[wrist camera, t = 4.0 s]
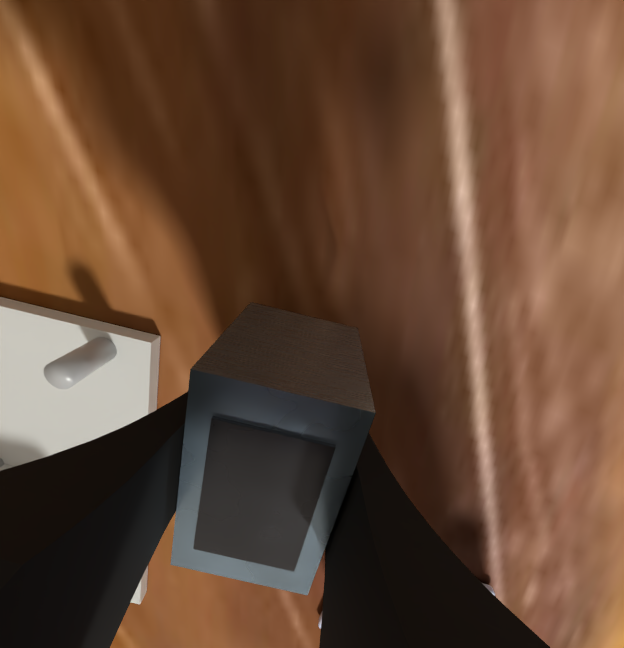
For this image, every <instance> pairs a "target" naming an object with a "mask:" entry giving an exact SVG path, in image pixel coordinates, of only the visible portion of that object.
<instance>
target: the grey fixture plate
mask: <svg viewBox="0 0 624 648" xmlns="http://www.w3.org/2000/svg"><path fill="white" fill-rule="evenodd" d="M160 337H161V336H159V335H154V334H150V333H146V332H142V331H138V330H134V329H130V328H126V327H122V326H118V325H114V324H109V323H105V322H101V321H97V320H93V319H89V318H85V317H81V316H77V315H73V314H69V313H64V312H60V311H56V310H52V309H48V308H44V307H40V306H36V305H32V304H28V303H24V302H19V301H15V300H11V299H7V298H3V297H0V471H1V470H4V469H8V468H11V467H15V466H18V465H22V464H25V463H28V462H31V461H34V460H38V459H41V458H44V457H47V456H50V455H53V454H55V453H58V452H61V451H64V450H66V449H69V448H72V447H75V446H78V445H80V444H83V443H86V442H89V441H91V440H94V439H96V438H99V437H101V436H103V435H106V434H108V433H110V432H113V431H115V430H117V429H120V428H122V427H124V426H126V425H128V424H130V423H132V422H134V421H136V420H138V419H140V418H142V417H144V416H146V415H148V414H150V413H152V412H154V411H156V410H157V392H158V374H159V355H160ZM147 576H148V566H147V568H146V570H145V572H144V574H143V576H142V578H141V581H140V583H139V585H138V587H137V589H136V591H135V593H134V595H133V598H132V600H131V603H136V604H141V602H142V600H143V598H144V596H145V594H146V592H147Z"/></svg>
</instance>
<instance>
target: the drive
mask: <svg viewBox="0 0 624 648" xmlns="http://www.w3.org/2000/svg"><path fill="white" fill-rule="evenodd" d="M375 413H376V412H375V407H374V403H373V398H372V393H371V388H370V384H369V379H368V374H367V369H366V365H365V360H364V355H363V350H362V346H361V341H360V336H359V332H358V328H355V327H351V326H347V325H343V324H339V323H335V322H331V321H327V320H322V319H318V318H314V317H310V316H306V315H302V314H298V313H294V312H289V311H285V310H281V309H277V308H273V307H269V306H265V305H261V304H257V303H252V302H251V303H250V304H249V305H248V306H247V307H246V308H245V309H244V310H243V312H242V313H241V314H240V315H239V316H238V317H237V318H236V319H235V320H234V322H233V323H232V324H231V325H230V326H229V327H228V328H227V329H226V330H225V331H224V333H223V334H222V335H221V336H220V337H219V338H218V339H217V340H216V341H215V343H214V344H213V345H212V346H211V347H210V348H209V349H208V350H207V351H206V353H205V354H204V355H203V356H202V357H201V358H200V359H199V360H198V361H197V362H196V364H195V365H194V366H193V367H192V368H191V370H190V380H189V390H188V400H187V410H186V419H185V429H184V439H183V449H182V459H181V468H180V478H179V488H178V498H177V508H176V518H175V527H174V537H173V547H172V557H171V565H175V566H179V567H184V568H188V569H192V570H197V571H201V572H206V573H210V574H215V575H219V576H224V577H228V578H233V579H237V580H241V581H246V582H250V583H255V584H259V585H264V586H268V587H273V588H277V589H282V590H286V591H291V592H295V593H299V594H304V595H308V592H309V590H310V587H311V584H312V582H313V579H314V576H315V574H316V571H317V568H318V566H319V563H320V560H321V558H322V555H323V552H324V550H325V547H326V544H327V542H328V539H329V536H330V534H331V531H332V528H333V526H334V523H335V520H336V518H337V515H338V512H339V510H340V507H341V504H342V502H343V499H344V496H345V494H346V491H347V488H348V486H349V483H350V480H351V478H352V475H353V472H354V470H355V467H356V464H357V462H358V459H359V456H360V454H361V451H362V448H363V446H364V443H365V440H366V438H367V435H368V432H369V430H370V427H371V424H372V421H373V419H374V416H375Z"/></svg>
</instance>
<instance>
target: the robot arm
mask: <svg viewBox="0 0 624 648" xmlns="http://www.w3.org/2000/svg"><path fill="white" fill-rule="evenodd" d="M187 400H188V392H187V393H185V394H183V395H182V396H180V397H178V398H177V399H175V400H173V401H171V402H170V403H168V404H166V405H164V406H163V407H161V408H159V409H157V410H156V411H154V412H152V413H150V414H148V415H146V416H144V417H142V418H140V419H138V420H136V421H134V422H132V423H130V424H128V425H126V426H124V427H122V428H120V429H117V430H115V431H113V432H110V433H108V434H106V435H103V436H101V437H99V438H96V439H94V440H91V441H89V442H86V443H83V444H80V445H78V446H75V447H72V448H69V449H66V450H64V451H61V452H58V453H55V454H53V455H50V456H47V457H44V458H41V459H38V460H34V461H31V462H28V463H25V464H22V465H18V466H15V467H11V468H8V469H4V470H1V471H0V648H110V646H111V643H112V641H113V639H114V637H115V635H116V632H117V630H118V628H119V626H120V624H121V621H122V619H123V617H124V615H125V613H126V610H127V608H128V606H129V604H130V602H131V600H132V598H133V595H134V593H135V591H136V589H137V587H138V585H139V583H140V581H141V578H142V576H143V574H144V572H145V570H146V568H147V566H148V564H149V562H150V560H151V557H152V555H153V553H154V551H155V549H156V547H157V545H158V543H159V541H160V539H161V537H162V535H163V533H164V531H165V529H166V527H167V525H168V524H169V522H170V520H171V518H172V517H173V515H174V513H175V511H176V508H177V498H178V488H179V478H180V468H181V459H182V449H183V439H184V429H185V419H186V410H187ZM318 626H319V628H320V629H321V635H320V647H319V648H550V647H549V646H548V645H547V644H546V643H545V642H544V641H543V640H541V639H540V638H539V637H538V636H537V635H536V634H535V633H534V632H533V631H532V630H531V629H529V628H528V627H527V626H526V625H525V624H524V623H523V622H522V621H521V620H520V619H518V618H517V617H516V616H515V615H514V614H513V613H512V612H511V611H510V610H509V609H508V608H506V607H505V606H504V605H503V604H502V603H501V602H500V601H499V600H498V599H497V598H496V597H495V593H494V590H493V588H492V587H491V586H490V585H488V584H484V583H481V582H480V581H479V580H478V579H477V578H476V577H475V576H474V575H473V574H472V573H471V572H470V570H469V569H468V568H467V567H466V566H465V565H464V564H463V563H462V562H461V561H460V560H459V559H458V558H457V557H456V555H455V554H454V553H453V552H452V551H451V550H450V549H449V547H448V546H447V545H446V544H445V543H444V542H443V541H442V539H441V538H440V537H439V536H438V535H437V534H436V533H435V531H434V530H433V529H432V528H431V526H430V525H429V524H428V523H427V522H426V520H425V519H424V518H423V516H422V515H421V514H420V512H419V511H418V510H417V509H416V507H415V506H414V505H413V503H412V502H411V501H410V499H409V498H408V497H407V495H406V494H405V492H404V491H403V489H402V488H401V486H400V485H399V483H398V482H397V480H396V479H395V477H394V476H393V474H392V473H391V471H390V469H389V468H388V466H387V464H386V463H385V461H384V459H383V458H382V456H381V454H380V452H379V451H378V449H377V447H376V445H375V443H374V442H373V440H372V438H371V436H370V434H369V432H368V435H367V438H366V440H365V443H364V446H363V448H362V451H361V454H360V456H359V459H358V462H357V464H356V467H355V470H354V472H353V475H352V478H351V480H350V483H349V486H348V488H347V491H346V494H345V496H344V499H343V502H342V504H341V507H340V510H339V512H338V515H337V518H336V520H335V523H334V526H333V528H332V531H331V534H330V536H329V539H328V542H327V544H326V547H325V582H324V596H323V610H322V613H321V615H320V617H319V625H318Z"/></svg>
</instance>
